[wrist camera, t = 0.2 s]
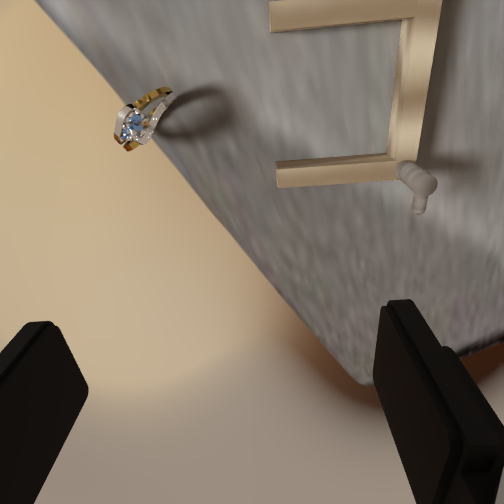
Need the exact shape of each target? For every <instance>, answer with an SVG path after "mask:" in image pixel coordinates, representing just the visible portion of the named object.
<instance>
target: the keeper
mask: <svg viewBox="0 0 504 504" xmlns="http://www.w3.org/2000/svg"><path fill="white" fill-rule="evenodd" d="M441 6H442V0H283V1H273V2H270V3H269V22H270V33H273V32H283V31H294V30H304V29H314V28H325V27H335V26H345V25H355V24H366V23H376V22H386V21H396V20H402V26H401V34H400V43H399V51H398V60H397V68H396V77H395V85H394V94H393V102H392V111H391V119H390V128H389V136H388V145H387V153H383V154H370V155H357V156H344V157H331V158H317V159H304V160H291V161H278V162H276V175H277V185H278V188H288V187H302V186H316V185H330V184H344V183H358V182H372V181H386V180H401V181H402V182H403V183H404V184H405V185H407V186H408V187H409V188H410V189H411V190H412V191H413V192H414V197H413V203H412V212H413V213H414V214H416V215H420V214H423V213H424V212H425V209H426V204H427V199H428V196H429V195H430V194H432V193H433V192H434V191H435V190H436V188H437V179H436V178H435V177H434V176H432V175H431V174H429V173H428V172H427V171H425V170H424V169H422V168H421V167H419V166H418V165H416V159H417V153H418V147H419V141H420V135H421V129H422V122H423V116H424V110H425V104H426V98H427V92H428V86H429V80H430V73H431V67H432V61H433V55H434V49H435V43H436V37H437V30H438V24H439V18H440V12H441Z"/></svg>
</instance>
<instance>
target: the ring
mask: <svg viewBox="0 0 504 504" xmlns="http://www.w3.org/2000/svg"><path fill="white" fill-rule="evenodd" d="M164 96H165V97H164ZM161 97H164V99H163V100H162V101H161V102H160V103H159V105H158V106H157V107H156V108H154V109H153V110H152V111H151V112H150V114H149V115H148V116H147V115H145V114H141V111H142V110H143V109H144V108H145V107H146V106H148V105H149V104H150V103H152V102H153V101H155V100H156V99H158V98H161ZM176 99H177V96H176V95H175V93H174V92H173V91H172V90H171V89H170V87H162V88H159V89H156V90H154V91H152V92H150V93H148V94H147V95H145V96H144V97H142V98H141V99H139V100H138V101H136V102H135V103H134V104H128V105H126V106H124V107H123V108H122V109H121V110H120V112H119V114H118V117H117V121H116V125H115V131H114V139H115V140H116V141H117V142H118V143H119V144H120V145H121V144H123V143H124V142H126V141H127V142H126V143H125V144H124V146H123V148H125V149H126V151H131V150H133V149H134V148H136V147H137V146H139V145H144V144H146V143H147V142H148V141H149V140H150V138H151V136H152V134H153V132H154V129H155V127H156V125H157V123H158V120H159V118H160V117H161V115H162V113H163V112H165V111H166V110H167V109H168V108H169V107H170V106H171V105H172V103H173V102H174V101H175V100H176ZM132 112H135V114H134V115H133V116H132V117H128V116H129V115H130V113H132ZM126 122H127V123H126ZM141 134H143V135H142V136H141V137H140V135H141Z"/></svg>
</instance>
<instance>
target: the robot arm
mask: <svg viewBox="0 0 504 504" xmlns="http://www.w3.org/2000/svg"><path fill="white" fill-rule="evenodd" d="M373 380H374V384H375V388H376V390H377V393H378V396H379V399H380V402H381V405H382V407H383V410H384V413H385V416H386V419H387V421H388V424H389V427H390V430H391V433H392V436H393V439H394V441H395V444H396V447H397V450H398V453H399V456H400V458H401V461H402V464H403V467H404V470H405V472H406V475H407V478H408V481H409V484H410V487H411V489H412V492H413V495H414V498H415V501H416V504H504V426H503V424H502V423H501V421H500V420H499V418H498V417H497V415H496V414H495V412H494V411H493V409H492V408H491V406H490V404H489V403H488V401H487V400H486V398H485V397H484V395H483V394H482V392H481V391H480V389H479V388H478V386H477V385H476V383H475V382H474V380H473V379H472V377H471V376H470V374H469V373H468V372H467V370H466V368H465V367H464V365H463V364H462V362H461V361H460V359H459V358H458V356H457V355H456V353H455V352H454V351H453V350H452V349H451V348H449V347H448V346H441V345H440V343H439V342H438V340H437V338H436V337H435V335H434V334H433V332H432V331H431V329H430V327H429V326H428V324H427V323H426V321H425V319H424V318H423V316H422V315H421V313H420V311H419V310H418V308H417V307H416V305H415V304H414V302H413V301H412V300H411V299H405V300H390V301H388V303H387V306H382V307H381V310H380V318H379V326H378V334H377V342H376V350H375V358H374V366H373ZM87 396H88V385H87V383H86V381H85V379H84V377H83V375H82V373H81V371H80V369H79V367H78V365H77V363H76V361H75V359H74V357H73V355H72V353H71V351H70V349H69V347H68V345H67V343H66V341H65V339H64V337H63V335H62V333H61V331H60V329H59V327H57V326H55V325H54V324H53V323H52V322H51V321H40V322H29V323H27V324H25V325H24V326H23V328H22V329H21V330H20V331H19V332H18V333H17V334H16V336H15V337H14V338H13V339H12V340H11V341H10V342H9V344H8V345H7V346H6V347H5V348H4V349H3V350H2V351H1V353H0V504H34V502H35V500H36V498H37V496H38V494H39V492H40V490H41V488H42V486H43V484H44V482H45V480H46V478H47V476H48V474H49V472H50V470H51V468H52V467H53V464H54V463H55V461H56V459H57V457H58V455H59V452H60V450H61V449H62V447H63V445H64V442H65V441H66V439H67V437H68V435H69V432H70V431H71V429H72V427H73V425H74V423H75V420H76V419H77V417H78V415H79V413H80V411H81V409H82V407H83V405H84V403H85V401H86V399H87Z"/></svg>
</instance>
